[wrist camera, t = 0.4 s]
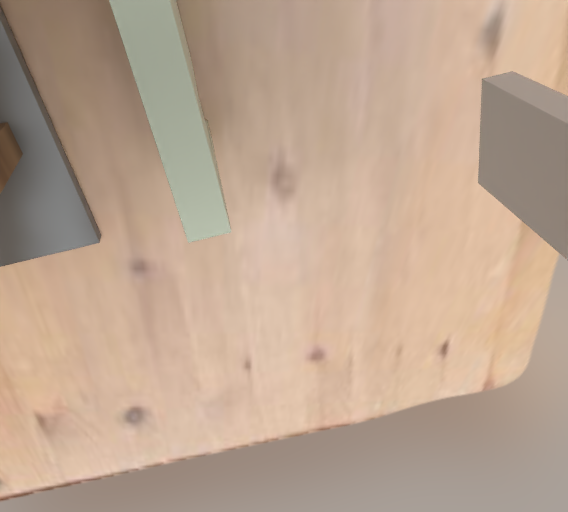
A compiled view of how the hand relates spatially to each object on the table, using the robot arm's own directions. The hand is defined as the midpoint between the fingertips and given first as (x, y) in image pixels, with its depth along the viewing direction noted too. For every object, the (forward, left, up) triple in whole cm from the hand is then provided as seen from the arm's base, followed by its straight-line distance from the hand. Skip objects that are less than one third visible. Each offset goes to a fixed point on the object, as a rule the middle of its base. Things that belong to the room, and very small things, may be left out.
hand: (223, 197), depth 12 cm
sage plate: (-1, -1, -21) cm, 21 cm away
